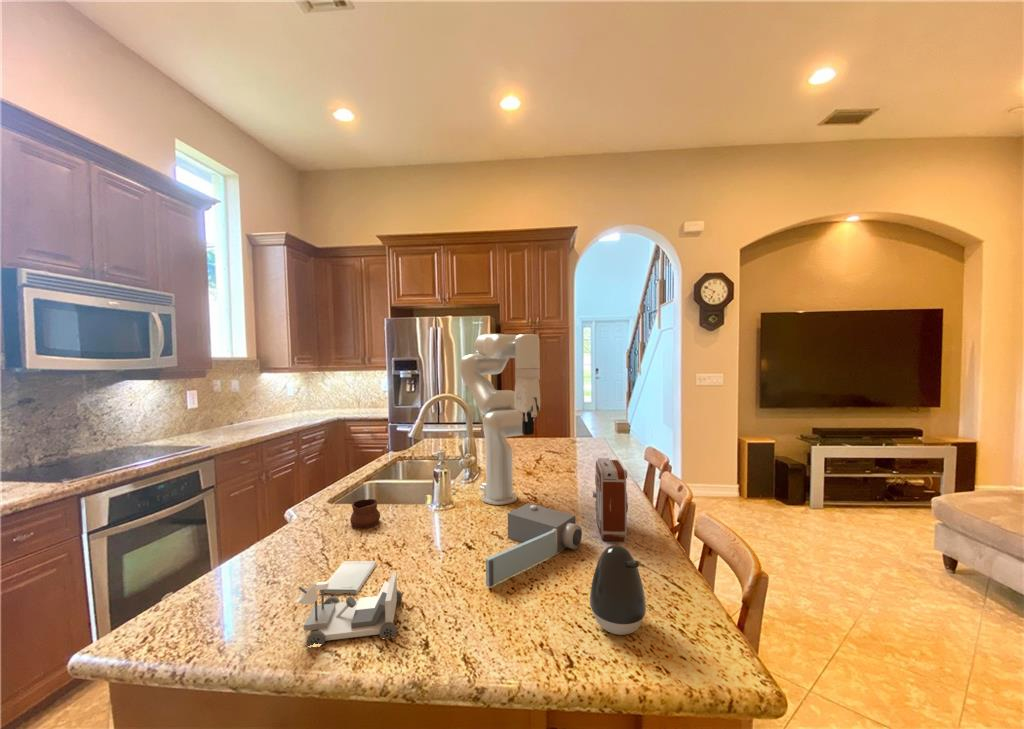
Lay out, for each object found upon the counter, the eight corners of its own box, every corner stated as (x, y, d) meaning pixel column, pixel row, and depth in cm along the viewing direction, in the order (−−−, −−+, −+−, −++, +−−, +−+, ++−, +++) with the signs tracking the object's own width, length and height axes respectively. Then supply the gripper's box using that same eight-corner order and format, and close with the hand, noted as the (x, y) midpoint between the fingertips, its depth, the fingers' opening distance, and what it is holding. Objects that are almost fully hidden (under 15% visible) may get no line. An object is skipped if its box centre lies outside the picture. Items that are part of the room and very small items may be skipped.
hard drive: (356, 589, 89) (376, 560, 102) (319, 589, 89) (343, 560, 102) (356, 597, 89) (376, 567, 102) (319, 596, 89) (343, 567, 102)
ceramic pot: (333, 541, 115) (334, 515, 115) (333, 519, 132) (333, 497, 132) (399, 531, 122) (399, 507, 122) (392, 511, 139) (392, 490, 139)
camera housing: (507, 538, 116) (507, 510, 116) (528, 526, 124) (528, 500, 123) (568, 558, 104) (568, 527, 104) (587, 543, 112) (586, 515, 111)
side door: (489, 589, 90) (489, 560, 90) (485, 586, 91) (485, 557, 91) (559, 554, 105) (559, 530, 105) (554, 552, 106) (554, 528, 106)
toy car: (289, 597, 72) (309, 564, 83) (290, 653, 72) (310, 612, 83) (395, 587, 75) (401, 556, 86) (396, 640, 75) (402, 602, 87)
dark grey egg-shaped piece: (616, 652, 71) (615, 565, 70) (579, 618, 80) (578, 541, 80) (658, 633, 76) (658, 551, 75) (619, 603, 85) (619, 530, 84)
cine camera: (619, 516, 131) (619, 453, 130) (631, 543, 111) (631, 470, 111) (590, 515, 132) (590, 452, 131) (597, 542, 112) (596, 469, 112)
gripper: (507, 373, 132) (507, 431, 132) (526, 375, 118) (526, 439, 118) (528, 373, 135) (529, 429, 135) (549, 375, 121) (550, 437, 121)
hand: (528, 434), depth 127 cm, fingers closed
